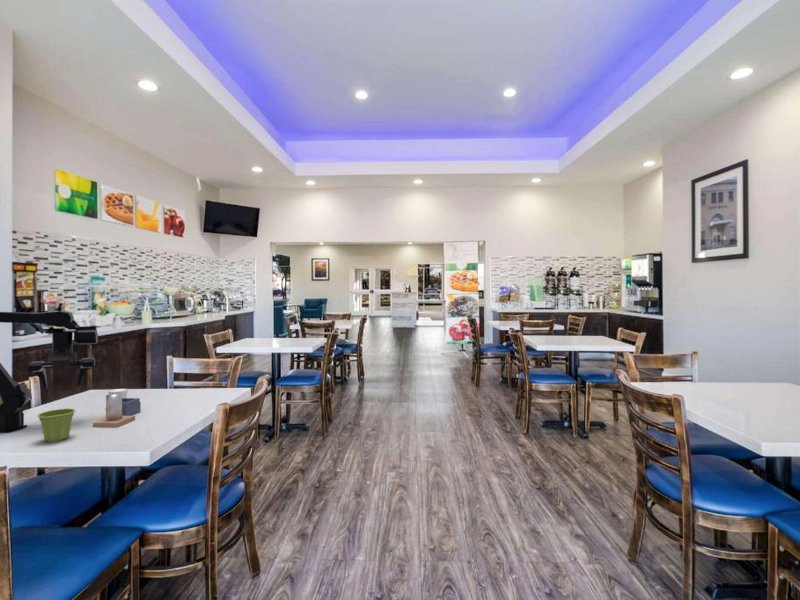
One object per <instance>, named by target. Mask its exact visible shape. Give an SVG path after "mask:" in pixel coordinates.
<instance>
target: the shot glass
mask: <svg viewBox="0 0 800 600" xmlns="http://www.w3.org/2000/svg"><path fill="white" fill-rule="evenodd" d="M107 392H108V393H107V395H108V394H113V393H122V398H128V392H129V390H128V388H115V389H110V390H108V391H107Z"/></svg>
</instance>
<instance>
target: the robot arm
mask: <svg viewBox="0 0 800 600" xmlns="http://www.w3.org/2000/svg"><path fill="white" fill-rule="evenodd" d="M0 323H7V324H8V323H9V324H12V323H13V324H16V323H17V324H19V323H20V324H40V325H43V326H50V327H49V328H48V329H47V330H46V331H45V332H44V334H52V335H51V338H52V341H51V345H52V346H51V347H52V348H51V349H52V351H51V352H52V355H51V357H50V362H45V361H44V360H40V361H39V360H37V361H36V360H35V361H34V360H33V361H31V362H29V363H28V364H27V365H26V367H27V368H26V372H32V374H36V375H37V376H38V378H39V379H40V381H41V383H42V385H43V387H44V390H48V380H47V379H48V376H47V372H46V371H47V370H46V369H49V368H51V369H59V368H62V369H63V368H64V369H65V368H69V367H73V366H74V367H77V366H80V367H79V373H78V380H77V387H80V385H81V383H82V380H83V377H84V375H85V373H86V371H87V370H90V369H91V367H95V365H96V358H94V357H82V358H80V360H77V353H76V352H73V351H74V350H73V344H74V343H73V341H74V342H75V343H77V345H94V344H98V341H99V334H98V329H97V325H87V326H80V325H79V324H78V323H77V322H76V320H74V315H73V314H72V313H71V312H70V311H67V310H58V311H49V312H19V311H18V312H17V311H16V312H15V311H0ZM56 327H57V328H56ZM66 329H67V330H66ZM31 391H32V389H30V388H29V387H28V386H27V384H26V382H25V381H22V382H20V383H19V382H17V381H15V380H14V379H13V377H12V376H11V374H10V373H9V372H8V371H7V369H6V368H5V366H4V365H3V364H2V363H1V362H0V399H1V401H2V403H1V404H0V433H10V432H14V431H18V430H20V429H24V428H26V427H28V425H27V424H25V417H24V416H25V415H24V409H23V407H24V406H25V404H27V403H28V402H29V401H30V399H31V397H32V395H31V394H32V393H31ZM24 424H25V425H24Z"/></svg>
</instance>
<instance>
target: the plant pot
mask: <svg viewBox="0 0 800 600" xmlns="http://www.w3.org/2000/svg"><path fill="white" fill-rule="evenodd" d="M75 413H76V409H75V408H60V409H52V410H51V409H50V410H47V411H44V412H40V413H38V414H37V417H38V418H39V421H40V424H41V428H42V434H43V438H44V440H43V441H44V442H49V443H53V442H54V443H55V442H60V441H62V440H64V439H68V438H69V437H70V434H71V433H70V432H71V425H72V420H73V417H74V414H75Z"/></svg>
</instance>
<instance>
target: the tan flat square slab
mask: <svg viewBox="0 0 800 600" xmlns="http://www.w3.org/2000/svg"><path fill="white" fill-rule="evenodd" d="M135 420H136V416H135V415H131V416H122V419H120V420H115V421H106V417H104V418H102V419H99V420H97V421H93V422H92V427H93V428H119V427H121V426H124V425H126V424H128V423H130V422H133V421H135Z"/></svg>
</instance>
